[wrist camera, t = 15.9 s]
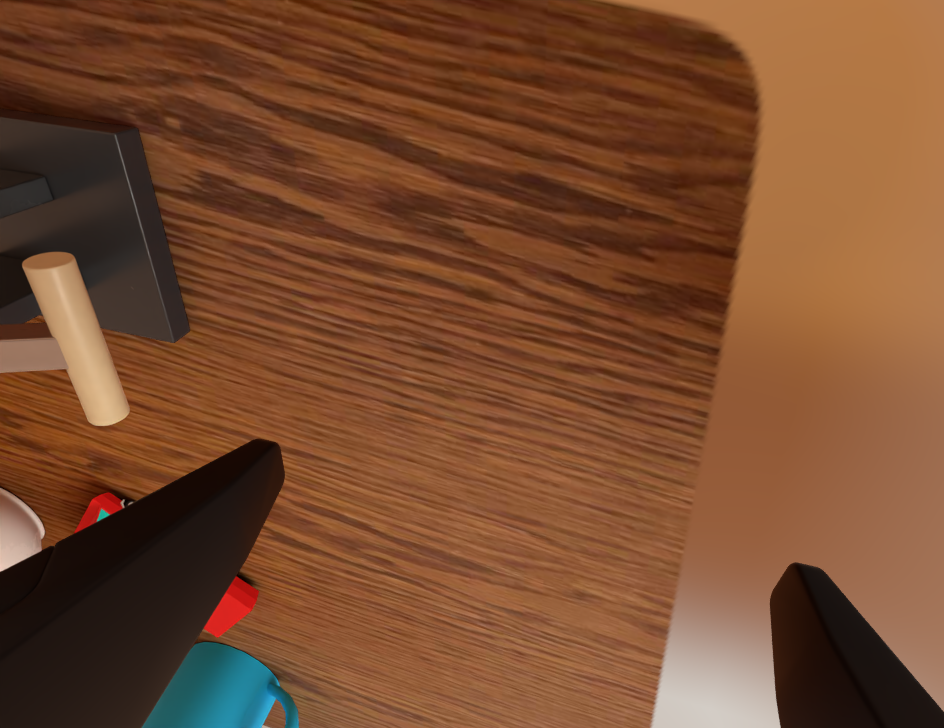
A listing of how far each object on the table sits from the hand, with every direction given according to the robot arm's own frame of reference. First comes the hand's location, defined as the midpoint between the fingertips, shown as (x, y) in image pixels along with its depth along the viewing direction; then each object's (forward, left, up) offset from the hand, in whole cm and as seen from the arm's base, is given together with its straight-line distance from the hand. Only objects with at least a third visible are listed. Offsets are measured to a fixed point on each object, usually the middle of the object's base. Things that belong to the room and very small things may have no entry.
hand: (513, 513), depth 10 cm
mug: (+15, +42, -12) cm, 46 cm away
